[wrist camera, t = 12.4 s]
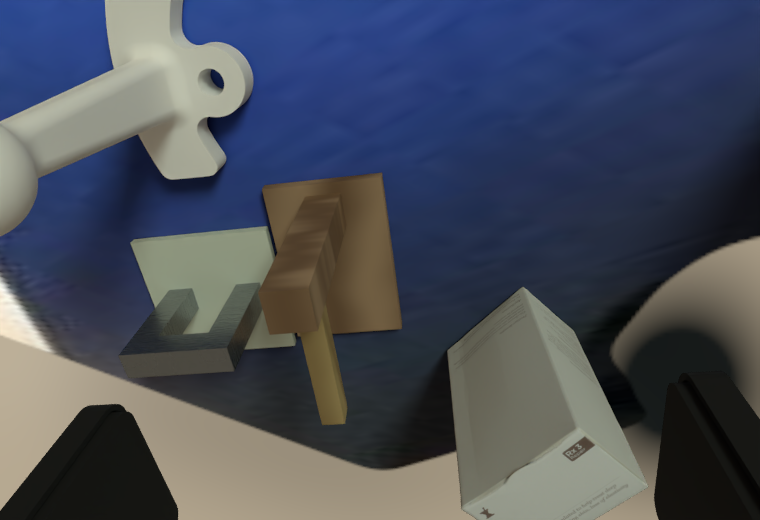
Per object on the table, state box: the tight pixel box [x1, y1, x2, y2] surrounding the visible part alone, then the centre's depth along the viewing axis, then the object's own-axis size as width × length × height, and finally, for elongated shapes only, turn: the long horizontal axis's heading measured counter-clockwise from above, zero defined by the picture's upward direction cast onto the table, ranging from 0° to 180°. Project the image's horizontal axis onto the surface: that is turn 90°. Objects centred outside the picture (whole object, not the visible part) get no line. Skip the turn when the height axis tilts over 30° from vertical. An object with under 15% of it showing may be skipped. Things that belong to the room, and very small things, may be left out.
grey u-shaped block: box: [119, 282, 262, 378], centre depth 37 cm, size 7×2×8 cm, turn 97°
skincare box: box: [447, 287, 648, 520], centre depth 35 cm, size 8×6×15 cm
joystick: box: [0, 0, 253, 236], centre depth 25 cm, size 11×8×20 cm
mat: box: [131, 226, 296, 349], centre depth 40 cm, size 10×10×1 cm
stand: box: [258, 173, 402, 425], centre depth 33 cm, size 8×12×13 cm, turn 7°
